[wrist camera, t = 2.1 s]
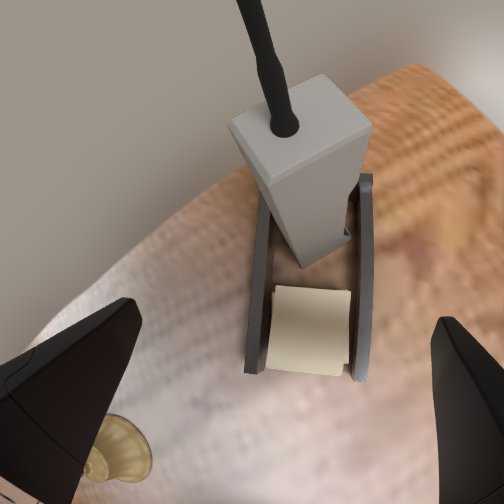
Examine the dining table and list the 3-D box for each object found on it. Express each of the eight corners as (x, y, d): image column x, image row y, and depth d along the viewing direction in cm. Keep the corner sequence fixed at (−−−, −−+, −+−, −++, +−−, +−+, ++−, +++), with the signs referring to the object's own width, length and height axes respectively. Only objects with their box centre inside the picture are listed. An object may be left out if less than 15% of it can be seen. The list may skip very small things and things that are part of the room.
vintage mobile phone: (351, 240, 27) (385, -72, 3) (302, 269, 27) (169, -15, 4) (329, 206, 28) (293, -95, 5) (281, 234, 29) (133, -41, 5)
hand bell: (146, 494, 25) (46, 556, 10) (88, 459, 27) (-17, 492, 12) (159, 436, 26) (40, 489, 11) (96, 402, 29) (-24, 420, 14)
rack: (362, 376, 24) (368, 383, 20) (252, 368, 26) (240, 374, 22) (367, 193, 28) (372, 173, 24) (267, 192, 30) (258, 173, 26)
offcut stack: (345, 368, 25) (349, 376, 20) (273, 364, 26) (261, 371, 22) (349, 294, 26) (354, 286, 21) (278, 292, 27) (268, 284, 23)
